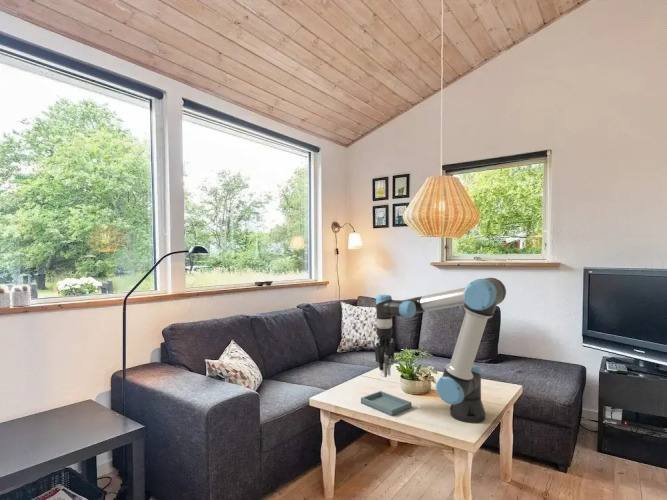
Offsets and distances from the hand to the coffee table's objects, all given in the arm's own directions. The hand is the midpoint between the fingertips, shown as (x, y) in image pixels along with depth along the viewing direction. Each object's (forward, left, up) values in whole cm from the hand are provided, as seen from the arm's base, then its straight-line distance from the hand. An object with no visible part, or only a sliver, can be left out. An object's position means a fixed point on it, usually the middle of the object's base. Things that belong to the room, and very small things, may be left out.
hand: (385, 375), depth 185 cm
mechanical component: (0, 0, -1) cm, 1 cm away
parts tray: (0, 0, -14) cm, 14 cm away
